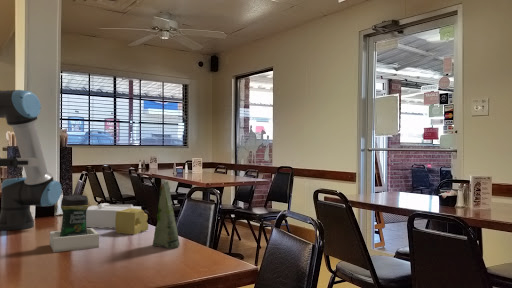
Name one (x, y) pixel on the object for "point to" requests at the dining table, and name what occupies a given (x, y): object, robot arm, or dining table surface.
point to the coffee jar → (74, 215)
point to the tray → (74, 241)
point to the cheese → (131, 221)
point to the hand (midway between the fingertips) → (37, 162)
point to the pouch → (165, 221)
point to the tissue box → (104, 214)
